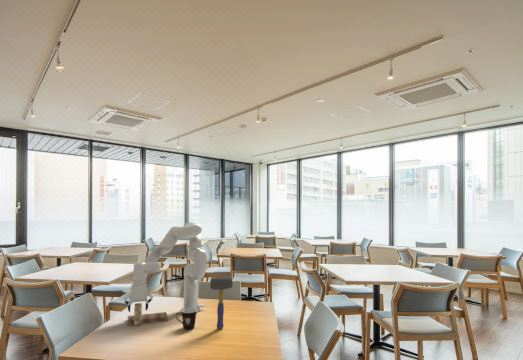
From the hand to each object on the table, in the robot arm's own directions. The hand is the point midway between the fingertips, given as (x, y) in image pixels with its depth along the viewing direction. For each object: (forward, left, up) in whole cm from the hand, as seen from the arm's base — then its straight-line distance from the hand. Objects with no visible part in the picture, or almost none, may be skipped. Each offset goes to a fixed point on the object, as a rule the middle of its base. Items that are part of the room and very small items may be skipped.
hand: (137, 310), depth 202 cm
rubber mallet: (-45, +29, -6) cm, 54 cm away
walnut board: (-6, 0, -6) cm, 9 cm away
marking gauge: (0, +1, -6) cm, 6 cm away
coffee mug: (-27, +21, -6) cm, 34 cm away
